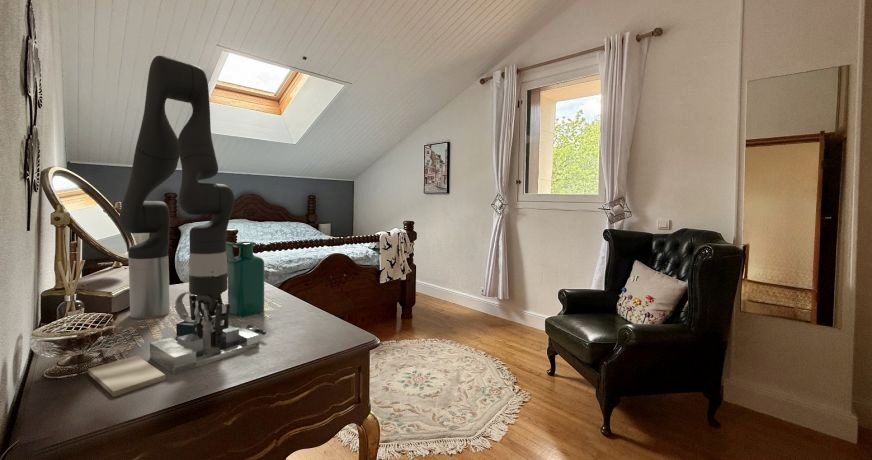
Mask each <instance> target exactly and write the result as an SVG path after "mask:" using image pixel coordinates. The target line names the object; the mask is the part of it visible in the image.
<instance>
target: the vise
mask: <svg viewBox="0 0 872 460" xmlns="http://www.w3.org/2000/svg"><path fill="white" fill-rule="evenodd" d="M266 334H267V332H266V330H264V329H261V328H258V327H257V326H254V325H251V324H247V325H246V328H244V327H242V326H239V325H237V324H235V323H229V327H228V329H223V330H222V345H221V346H219V347H220V350H219V351H216V352H213V353H210V354H207V355H203V339H202V338H200V337H198V336H197V335H194V334H188V335H185V336H177V340H176V339H175V338H174V337H167V338H163V339H160V340H156V341H152V342H149V359H151V360H152V361H154V362H155V363H157V364H158V365H160V366H162V368H164V369H166V370H168V371H169V372H171V373H172V374H173V375H177V374H180V373H183V372H187V371H189V370H192V369H195V368H198V367H202V366H205V365H207V364H208V365H209V364H210V363H213V362H217V361H219V360H223V359H226V358H229V357H231V356H235V355H238V354H241V353H243V352H246V351H250V350H253V349H256V348H260V335H262V336H264V335H266Z"/></svg>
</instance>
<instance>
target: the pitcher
mask: <svg viewBox="0 0 872 460" xmlns="http://www.w3.org/2000/svg"><path fill="white" fill-rule="evenodd" d="M256 245H257V243H256V242H254V241H239V242H236V243H234V242H229V241H226V256H227V282H228V288H227V303H229V305H230V313H229V314H231V315H234V316H236V317H238V318H243V317H248V316H253V315H258V314H261V313H263V312H264V311H265V261H264V259H263V258H262V257H259V256H256V255H254V248H253V246H256ZM234 248H239V249H238V250H239V254H238V256H235V255H234V254H235V253H234Z"/></svg>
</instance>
